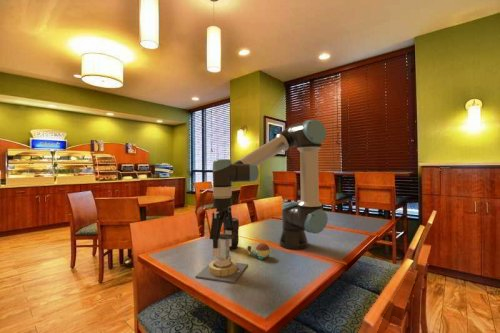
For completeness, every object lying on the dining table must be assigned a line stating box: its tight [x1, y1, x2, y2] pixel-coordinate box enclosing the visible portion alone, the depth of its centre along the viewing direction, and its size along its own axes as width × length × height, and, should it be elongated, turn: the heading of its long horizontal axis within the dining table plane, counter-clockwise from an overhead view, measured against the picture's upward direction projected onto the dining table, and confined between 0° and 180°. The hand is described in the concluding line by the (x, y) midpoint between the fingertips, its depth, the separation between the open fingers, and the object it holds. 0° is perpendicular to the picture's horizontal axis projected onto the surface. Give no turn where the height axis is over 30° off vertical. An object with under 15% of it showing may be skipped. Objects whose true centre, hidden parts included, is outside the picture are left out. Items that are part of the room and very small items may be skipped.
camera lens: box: [222, 217, 240, 251], centre depth 123 cm, size 8×8×15 cm
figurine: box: [246, 242, 270, 261], centre depth 111 cm, size 7×10×7 cm
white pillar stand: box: [214, 233, 234, 268], centre depth 96 cm, size 6×9×14 cm
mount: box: [195, 258, 248, 284], centre depth 96 cm, size 16×16×3 cm
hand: (222, 250), depth 96 cm, fingers open, 11 cm apart
